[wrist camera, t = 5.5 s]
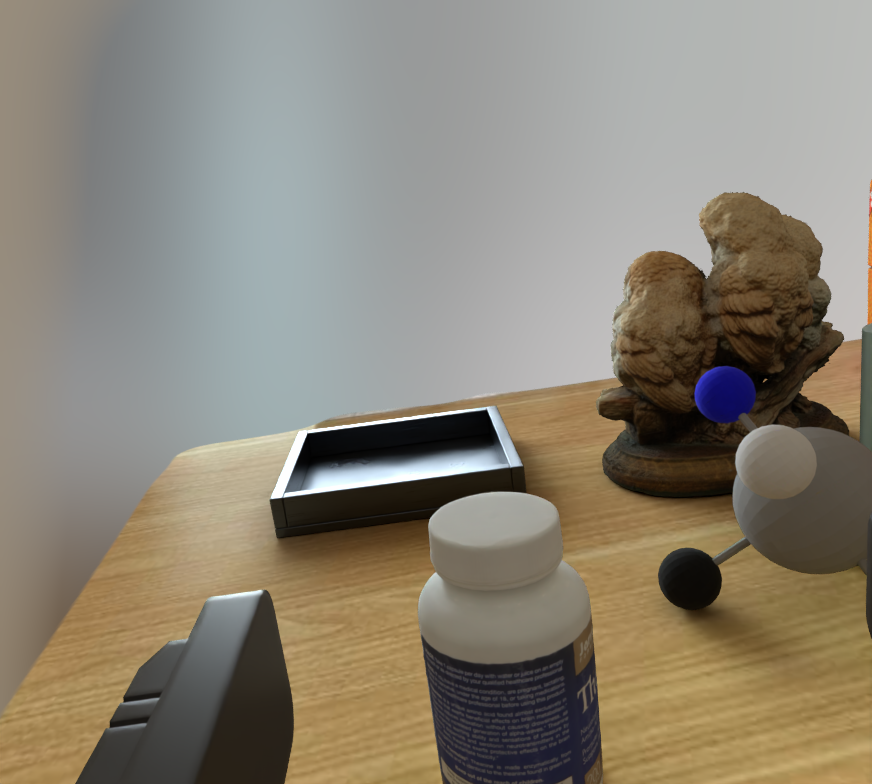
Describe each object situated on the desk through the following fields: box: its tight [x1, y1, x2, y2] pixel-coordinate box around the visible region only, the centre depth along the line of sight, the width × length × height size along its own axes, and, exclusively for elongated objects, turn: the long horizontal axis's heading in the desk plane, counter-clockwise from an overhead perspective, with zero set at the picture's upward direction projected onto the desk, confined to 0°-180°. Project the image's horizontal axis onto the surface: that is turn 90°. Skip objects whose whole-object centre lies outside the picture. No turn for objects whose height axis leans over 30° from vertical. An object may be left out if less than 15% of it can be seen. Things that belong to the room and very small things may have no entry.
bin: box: [270, 406, 526, 538], centre depth 53 cm, size 16×14×3 cm
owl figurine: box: [596, 192, 849, 497], centre depth 49 cm, size 18×12×17 cm, turn 112°
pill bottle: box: [418, 492, 603, 784], centre depth 24 cm, size 5×5×10 cm
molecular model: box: [658, 366, 872, 610], centre depth 32 cm, size 11×13×10 cm
